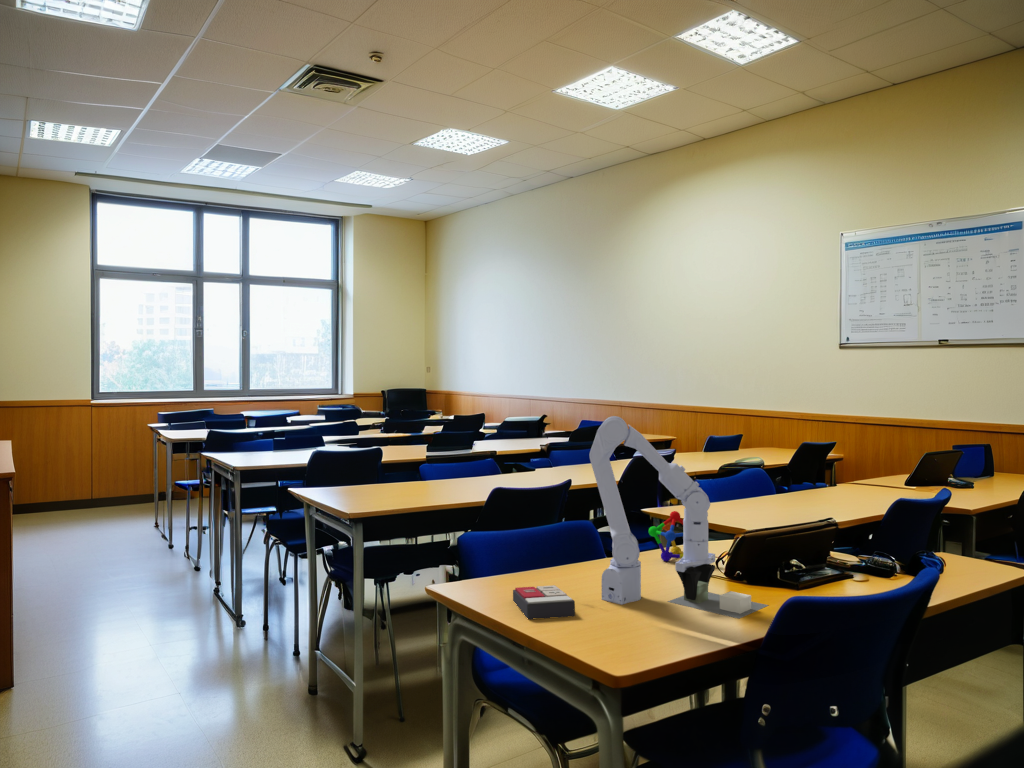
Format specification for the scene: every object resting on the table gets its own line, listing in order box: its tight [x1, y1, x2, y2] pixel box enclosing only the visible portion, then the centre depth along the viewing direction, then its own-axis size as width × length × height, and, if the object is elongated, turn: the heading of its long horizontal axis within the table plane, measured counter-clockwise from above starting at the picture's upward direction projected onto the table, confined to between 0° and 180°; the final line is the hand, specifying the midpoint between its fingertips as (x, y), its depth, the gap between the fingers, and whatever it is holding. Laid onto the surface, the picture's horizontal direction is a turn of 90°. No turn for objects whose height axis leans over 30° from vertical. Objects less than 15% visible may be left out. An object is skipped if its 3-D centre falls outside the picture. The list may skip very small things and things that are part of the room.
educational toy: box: [648, 510, 683, 562], centre depth 212 cm, size 16×13×15 cm
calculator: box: [512, 584, 576, 620], centre depth 164 cm, size 11×4×15 cm
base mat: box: [667, 591, 770, 620], centre depth 164 cm, size 14×18×1 cm
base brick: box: [719, 590, 752, 614], centre depth 160 cm, size 5×5×3 cm
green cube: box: [683, 581, 709, 603], centre depth 167 cm, size 4×4×4 cm
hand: (696, 597), depth 167 cm, fingers closed on green cube, 4 cm apart
